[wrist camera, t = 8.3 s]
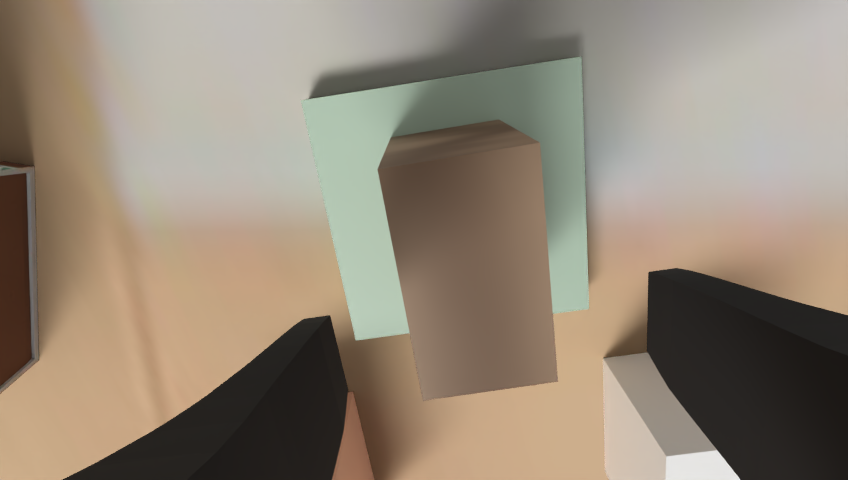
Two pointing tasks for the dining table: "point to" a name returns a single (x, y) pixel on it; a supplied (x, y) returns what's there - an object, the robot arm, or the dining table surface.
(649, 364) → the pale grey brick
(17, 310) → the food container
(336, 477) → the terracotta brick
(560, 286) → the sage green board
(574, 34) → the dining table surface
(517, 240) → the walnut brick
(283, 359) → the robot arm
